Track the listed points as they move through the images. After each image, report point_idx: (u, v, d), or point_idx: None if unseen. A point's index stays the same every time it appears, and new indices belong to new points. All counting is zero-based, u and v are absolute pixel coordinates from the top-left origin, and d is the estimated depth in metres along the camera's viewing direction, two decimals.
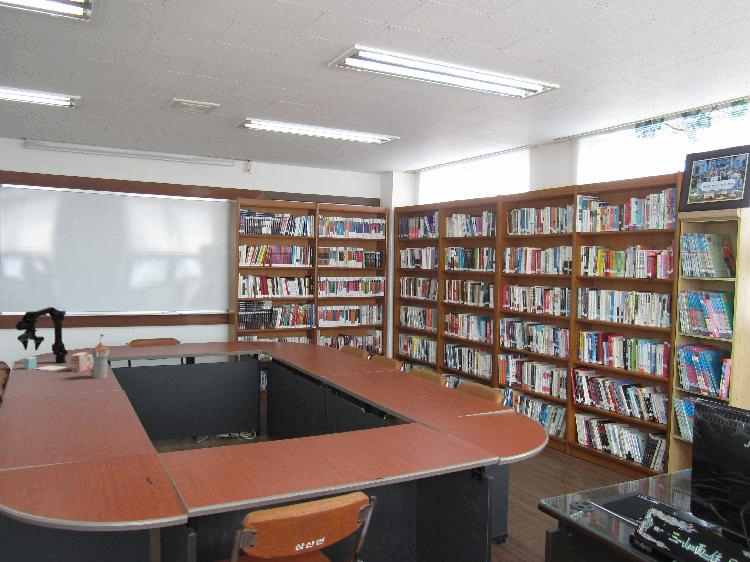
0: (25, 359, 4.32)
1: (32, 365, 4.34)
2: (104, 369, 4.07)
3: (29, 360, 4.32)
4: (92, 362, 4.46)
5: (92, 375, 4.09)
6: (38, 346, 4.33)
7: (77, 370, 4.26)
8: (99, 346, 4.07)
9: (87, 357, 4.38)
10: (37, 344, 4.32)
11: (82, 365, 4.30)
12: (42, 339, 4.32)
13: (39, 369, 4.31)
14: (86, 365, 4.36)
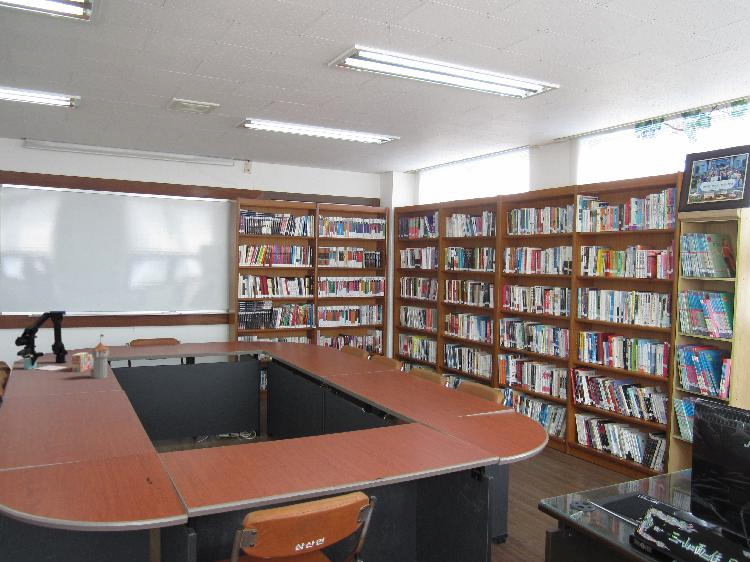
0: (25, 359, 4.32)
1: None
2: (104, 369, 4.07)
3: (29, 360, 4.32)
4: (92, 362, 4.46)
5: (92, 375, 4.09)
6: (35, 361, 4.35)
7: (78, 370, 4.27)
8: (99, 346, 4.07)
9: (87, 357, 4.38)
10: (34, 359, 4.34)
11: (83, 365, 4.31)
12: (41, 355, 4.33)
13: (39, 369, 4.31)
14: (86, 365, 4.37)
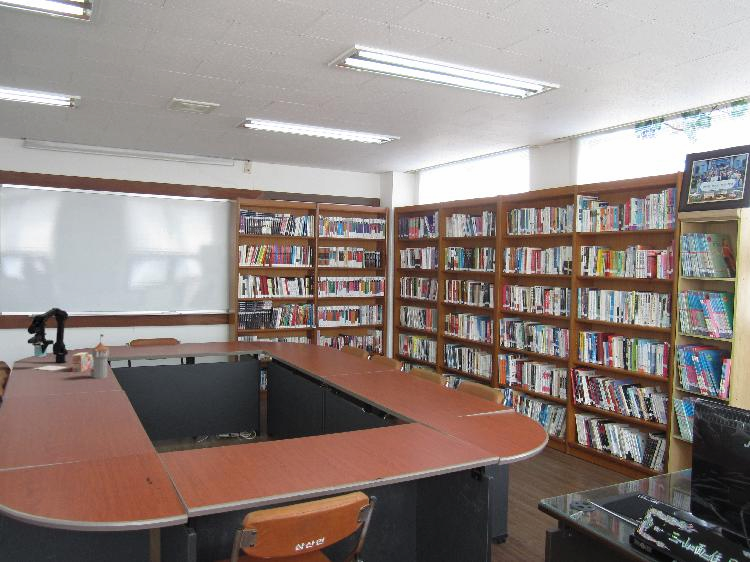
0: (35, 347, 4.33)
1: None
2: (104, 369, 4.07)
3: (39, 348, 4.33)
4: (92, 362, 4.46)
5: (92, 375, 4.09)
6: (45, 349, 4.37)
7: (79, 370, 4.27)
8: (99, 346, 4.07)
9: (88, 357, 4.39)
10: (44, 347, 4.36)
11: (83, 365, 4.31)
12: (51, 342, 4.35)
13: (39, 369, 4.31)
14: (87, 365, 4.37)
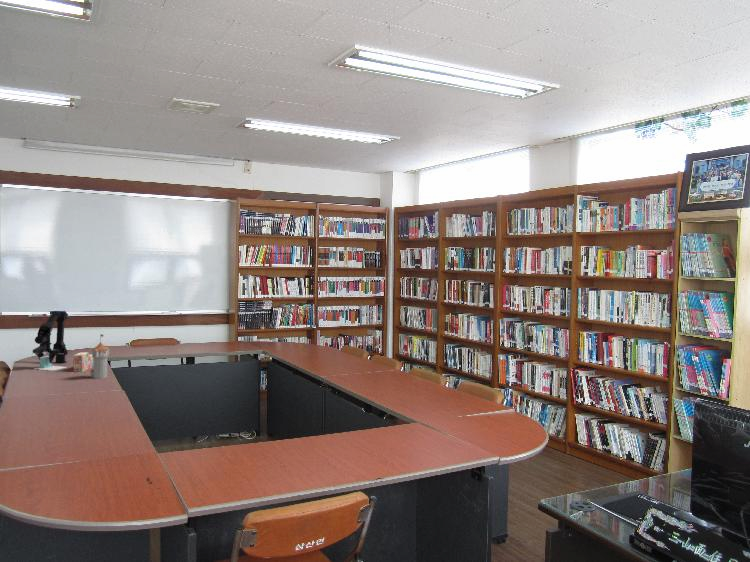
0: (41, 358, 4.34)
1: (47, 364, 4.37)
2: (104, 369, 4.07)
3: (45, 359, 4.35)
4: (92, 362, 4.46)
5: (92, 375, 4.09)
6: (52, 359, 4.37)
7: (80, 370, 4.27)
8: (99, 346, 4.07)
9: (88, 357, 4.39)
10: (51, 357, 4.36)
11: (84, 365, 4.31)
12: (57, 352, 4.36)
13: (39, 369, 4.31)
14: (87, 365, 4.37)
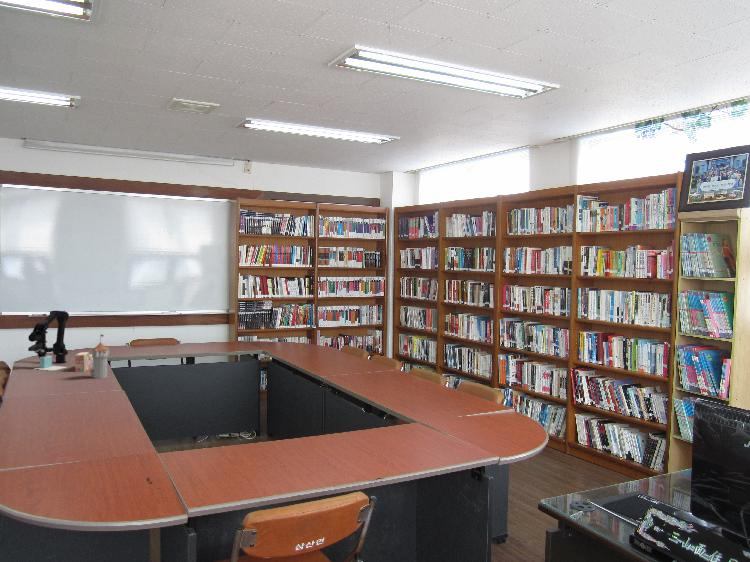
0: (41, 358, 4.34)
1: (47, 364, 4.37)
2: (104, 369, 4.07)
3: (45, 359, 4.34)
4: (92, 362, 4.47)
5: (92, 375, 4.09)
6: None
7: (82, 370, 4.28)
8: (99, 346, 4.07)
9: (88, 357, 4.39)
10: (42, 355, 4.38)
11: (86, 365, 4.32)
12: (52, 350, 4.37)
13: (39, 369, 4.31)
14: (88, 365, 4.38)
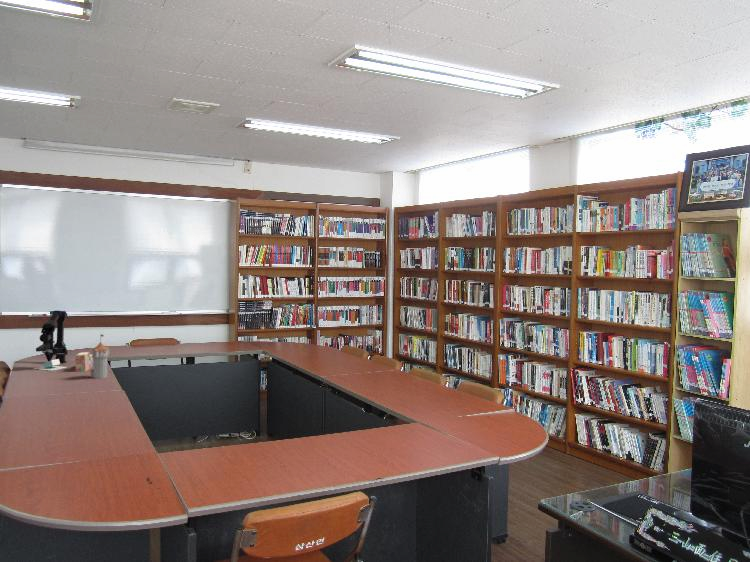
0: (51, 362, 4.32)
1: (50, 366, 4.37)
2: (104, 369, 4.07)
3: (52, 365, 4.33)
4: (91, 362, 4.47)
5: (92, 375, 4.09)
6: (51, 357, 4.37)
7: (82, 370, 4.28)
8: (99, 346, 4.07)
9: (89, 357, 4.40)
10: (50, 355, 4.36)
11: (86, 365, 4.32)
12: (60, 350, 4.35)
13: (39, 369, 4.31)
14: (88, 365, 4.38)
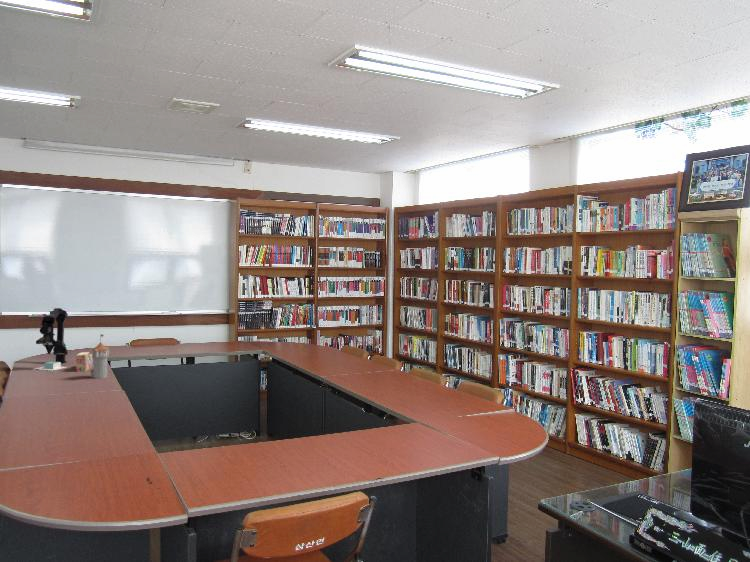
0: (52, 365, 4.32)
1: None
2: (104, 369, 4.07)
3: (52, 368, 4.33)
4: (91, 362, 4.47)
5: (92, 375, 4.09)
6: (51, 349, 4.37)
7: (83, 370, 4.28)
8: (99, 346, 4.07)
9: (89, 357, 4.40)
10: (50, 347, 4.36)
11: (87, 365, 4.33)
12: (60, 343, 4.35)
13: (39, 369, 4.31)
14: (88, 365, 4.38)
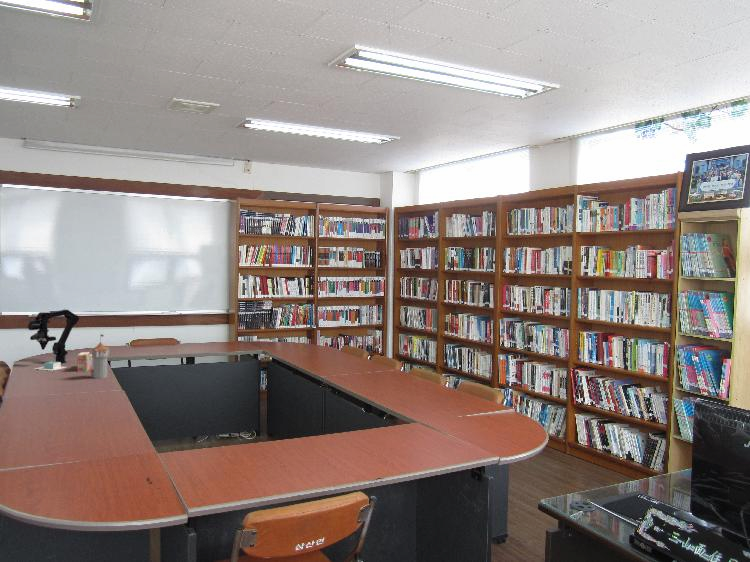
0: (52, 365, 4.32)
1: None
2: (104, 369, 4.07)
3: (52, 368, 4.33)
4: (91, 361, 4.48)
5: (92, 375, 4.09)
6: (45, 345, 4.48)
7: (84, 369, 4.29)
8: (99, 346, 4.07)
9: (89, 356, 4.40)
10: (44, 343, 4.47)
11: (87, 364, 4.33)
12: (54, 339, 4.46)
13: (39, 369, 4.31)
14: (89, 364, 4.39)
